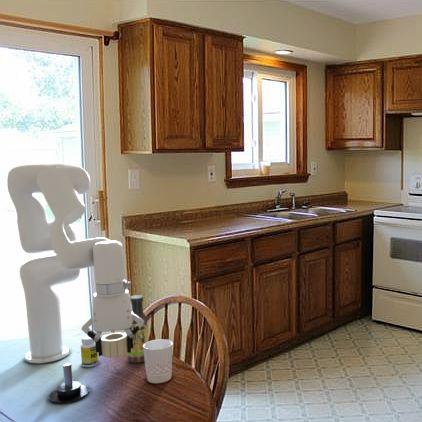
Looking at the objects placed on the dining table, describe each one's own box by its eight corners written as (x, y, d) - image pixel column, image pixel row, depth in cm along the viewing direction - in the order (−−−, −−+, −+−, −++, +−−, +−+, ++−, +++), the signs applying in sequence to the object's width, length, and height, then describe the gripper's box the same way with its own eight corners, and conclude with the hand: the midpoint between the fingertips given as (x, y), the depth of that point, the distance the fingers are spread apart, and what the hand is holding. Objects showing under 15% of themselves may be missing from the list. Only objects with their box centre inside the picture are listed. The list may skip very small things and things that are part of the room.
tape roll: (103, 349, 146) (102, 333, 145) (129, 346, 147) (128, 331, 147) (100, 359, 139) (99, 342, 139) (127, 355, 141) (126, 339, 140)
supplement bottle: (93, 367, 158) (91, 340, 157) (78, 366, 159) (76, 339, 158) (101, 361, 162) (99, 334, 162) (87, 360, 163) (85, 334, 162)
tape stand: (52, 389, 144) (50, 359, 143) (91, 384, 147) (89, 355, 146) (45, 406, 135) (42, 374, 134) (87, 400, 137) (84, 369, 136)
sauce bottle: (125, 364, 160) (121, 300, 157) (129, 356, 166) (126, 294, 163) (147, 363, 160) (143, 299, 158) (150, 355, 166) (147, 293, 164)
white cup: (139, 379, 149) (137, 344, 148) (163, 370, 155) (161, 337, 154) (155, 387, 144) (153, 351, 143) (179, 377, 150) (177, 343, 148)
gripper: (144, 281, 147) (148, 344, 149) (77, 287, 143) (82, 351, 145) (144, 288, 140) (148, 353, 142) (73, 294, 135) (79, 362, 137)
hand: (115, 352), depth 143 cm, fingers closed on tape roll, 6 cm apart
